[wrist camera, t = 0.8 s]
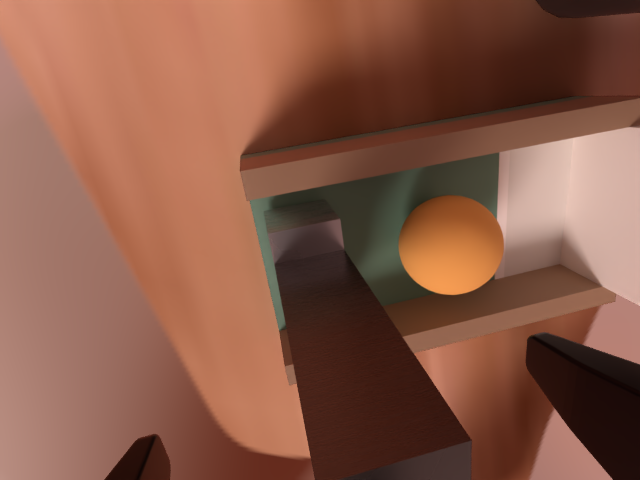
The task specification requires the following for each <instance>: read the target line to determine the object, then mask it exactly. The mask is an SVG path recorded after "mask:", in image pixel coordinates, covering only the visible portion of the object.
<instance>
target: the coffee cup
mask: <svg viewBox="0 0 640 480" xmlns="http://www.w3.org/2000/svg"><path fill="white" fill-rule="evenodd" d="M536 1H537V2H538V4H539V5H540V6H541V7H542V8H543V10H545V11H547V12H549V13H551V14H553V15H555V16H557V17H565V18H581V17H593V16H605V15H616V14H628V13H640V0H536Z"/></svg>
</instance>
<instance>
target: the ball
mask: <svg viewBox="0 0 640 480" xmlns="http://www.w3.org/2000/svg"><path fill="white" fill-rule="evenodd" d="M503 252H504V239H503V233H502V230H501V227H500V225H499V223H498V221H497V220H496V218H495V217H494V215H493V214H492V213H491V212H490V211H489V210H488V209H487V208H486V207H485V206H483V205H482V204H480V203H479V202H477V201H475V200H473V199H470V198H467V197H463V196H457V195H445V196H439V197H435V198H432V199H430V200H427V201H425V202H424V203H422V204H420V205H419V206H418V207H416V208H415V209H414V210H413V211H412V212H411V213H410V214H409V216H408V217H407V218H406V220H405V222H404V224H403V226H402V228H401V231H400V235H399V254H400V258H401V261H402V264H403V266H404V268H405V270H406V271H407V273H408V274H409V275H410V276H411V278H412V279H413V280H414V281H416V282H417V283H418V284H419V285H421V286H422V287H424V288H426V289H428V290H430V291H433V292H436V293H440V294H447V295H457V294H463V293H467V292H470V291H473V290H475V289H477V288H479V287H481V286H482V285H483V284H485V283H486V282H487V281H488V280H489V279H490V278H491V277H492V276H493V275H494V274H495V272H496V271H497V269H498V267H499V265H500V263H501V260H502V257H503Z"/></svg>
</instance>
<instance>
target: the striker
mask: <svg viewBox="0 0 640 480" xmlns="http://www.w3.org/2000/svg"><path fill="white" fill-rule="evenodd" d="M264 216H265V222H266V227H267V233H268V238H269V242H270V247H271V251H272V256H273V261H274V266H275V271H276V276H277V281H278V287H279V292H280V297H281V303H282V308H283V313H284V318H285V324H286V329H287V334H288V339H289V345H290V350H291V355H292V361H293V366H294V371H295V376H296V382H297V387H298V392H299V398H300V403H301V408H302V413H303V419H304V424H305V429H306V435H307V440H308V445H309V450H310V456H311V461H312V466H313V471H314V477H315V480H471V445H472V440H471V439H470V437H469V436H468V434H467V433H466V431H465V430H464V428H463V427H462V425H461V424H460V422H459V421H458V419H457V418H456V416H455V415H454V413H453V412H452V410H451V409H450V407H449V406H448V404H447V403H446V401H445V400H444V398H443V397H442V395H441V394H440V392H439V391H438V389H437V388H436V386H435V385H434V383H433V382H432V380H431V379H430V377H429V376H428V374H427V373H426V371H425V370H424V368H423V367H422V365H421V364H420V362H419V361H418V359H417V358H416V356H415V355H414V353H413V352H412V350H411V349H410V347H409V346H408V344H407V343H406V341H405V340H404V338H403V337H402V335H401V334H400V332H399V331H398V329H397V328H396V326H395V325H394V323H393V322H392V320H391V319H390V317H389V316H388V314H387V313H386V311H385V310H384V308H383V307H382V305H381V304H380V302H379V301H378V299H377V298H376V296H375V295H374V293H373V292H372V290H371V289H370V287H369V286H368V284H367V283H366V281H365V280H364V278H363V277H362V275H361V274H360V272H359V271H358V269H357V268H356V266H355V265H354V263H353V262H352V260H351V259H350V257H349V256H348V254H347V253H346V251H345V250H344V244H343V236H342V229H341V221H340V218H339V217H338V215H337V214H336V213H335V212H334V210H333V209H332V208H331V207H330V205H329V204H328V203H327V202H326V200H325V199H322V200H317V201H311V202H306V203H301V204H296V205H291V206H286V207H281V208H276V209H271V210H266V211H264Z"/></svg>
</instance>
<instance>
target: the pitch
mask: <svg viewBox="0 0 640 480" xmlns="http://www.w3.org/2000/svg"><path fill="white" fill-rule="evenodd" d="M240 173H241V178H242V182H243V186H244V191H245V195H246V200H247V201H249V200H250V204H251V208H252V213H253V217H254V222H255V226H256V230H257V235H258V239H259V244H260V248H261V252H262V257H263V261H264V266H265V270H266V275H267V279H268V283H269V288H270V292H271V297H272V301H273V305H274V310H275V314H276V319H277V323H278V328H279V332H280V339H281V345H282V352H283V358H284V364H285V369H286V374H287V378H288V382H289V385H293V384H297V382H296V376H295V371H294V366H293V361H292V355H291V350H290V345H289V339H288V334H287V329H286V324H285V318H284V313H283V308H282V303H281V297H280V292H279V287H278V281H277V276H276V271H275V266H274V261H273V256H272V251H271V247H270V242H269V238H268V233H267V227H266V222H265V216H264V211H266V210H271V209H276V208H281V207H286V206H291V205H296V204H301V203H306V202H311V201H317V200H322V199H325V200H326V202H327V203H328V204H329V205H330V207H331V208H332V209H333V210H334V212H335V213H336V214H337V215H338V217H339V218H340V221H341V229H342V236H343V244H344V250H345V251H346V253H347V254H348V256H349V257H350V259H351V260H352V262H353V263H354V265H355V266H356V268H357V269H358V271H359V272H360V274H361V275H362V277H363V278H364V280H365V281H366V283H367V284H368V286H369V287H370V289H371V290H372V292H373V293H374V295H375V296H376V298H377V299H378V301H379V302H380V304H381V305H382V307H383V308H384V310H385V311H386V313H387V314H388V316H389V317H390V319H391V320H392V322H393V323H394V325H395V326H396V328H397V329H398V331H399V332H400V334H401V335H402V337H403V338H404V340H405V341H406V343H407V344H408V346H409V347H410V349H411V350H412V352H413V353H417V352H421V351H425V350H429V349H433V348H436V347H440V346H444V345H448V344H452V343H456V342H460V341H464V340H468V339H471V338H475V337H479V336H483V335H487V334H491V333H495V332H499V331H503V330H506V329H510V328H514V327H518V326H522V325H526V324H530V323H534V322H538V321H541V320H545V319H549V318H553V317H557V316H561V315H565V314H569V313H573V312H576V311H580V310H584V309H588V308H592V307H596V306H600V305H603V304H608V303H611V302H615V298H616V294H618V295H620V296H621V297H623V298H625V299H627V300H629V301H631V302H633V303H635V304H637V305H639V306H640V96H573V97H568V98H562V99H556V100H551V101H545V102H539V103H534V104H528V105H523V106H517V107H511V108H506V109H500V110H494V111H489V112H483V113H478V114H472V115H466V116H461V117H455V118H449V119H444V120H438V121H433V122H427V123H421V124H416V125H410V126H404V127H399V128H393V129H388V130H382V131H376V132H371V133H365V134H359V135H354V136H348V137H343V138H337V139H331V140H326V141H320V142H314V143H309V144H303V145H297V146H292V147H286V148H281V149H275V150H269V151H264V152H258V153H252V154H247V155H241V157H240ZM445 195H457V196H463V197H467V198H470V199H473V200H475V201H477V202H479V203H480V204H482V205H483V206H485V207H486V208H487V209H488V210H489V211H490V212H491V213H492V214H493V215H494V217H495V218H496V220H497V221H498V223H499V225H500V227H501V230H502V233H503V239H504V252H503V257H502V260H501V263H500V265H499V267H498V269H497V271H496V272H495V274H494V275H493V276H492V277H491V278H490V279H489V280H488V281H487V282H486V283H485V284H483V285H482V286H481V287H479V288H477V289H475V290H473V291H470V292H467V293H463V294H457V295H447V294H440V293H436V292H433V291H430V290H428V289H426V288H424V287H422V286H421V285H419V284H418V283H417V282H416V281H414V280H413V279H412V278H411V276H410V275H409V274H408V273H407V271H406V270H405V268H404V266H403V264H402V261H401V258H400V254H399V235H400V231H401V228H402V226H403V224H404V222H405V220H406V218H407V217H408V216H409V214H410V213H411V212H412V211H413V210H414V209H415V208H416V207H418V206H419V205H420V204H422V203H424V202H425V201H427V200H430V199H432V198H435V197H439V196H445Z"/></svg>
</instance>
